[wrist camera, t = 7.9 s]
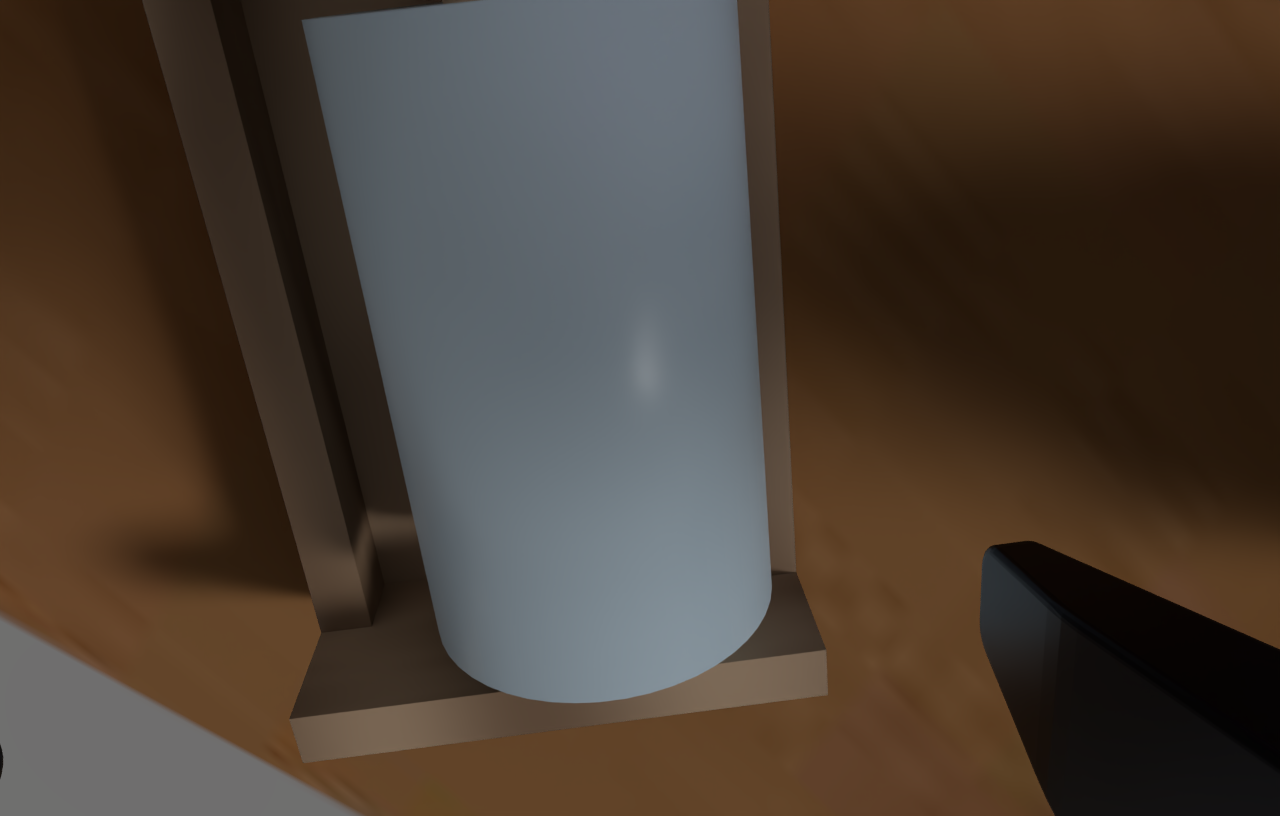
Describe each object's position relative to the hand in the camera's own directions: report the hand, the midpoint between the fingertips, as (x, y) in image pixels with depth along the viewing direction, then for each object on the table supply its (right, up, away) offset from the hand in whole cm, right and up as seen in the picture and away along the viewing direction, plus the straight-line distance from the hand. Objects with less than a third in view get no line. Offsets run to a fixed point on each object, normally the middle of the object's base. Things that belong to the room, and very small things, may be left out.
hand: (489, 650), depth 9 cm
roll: (-1, +4, +10) cm, 11 cm away
